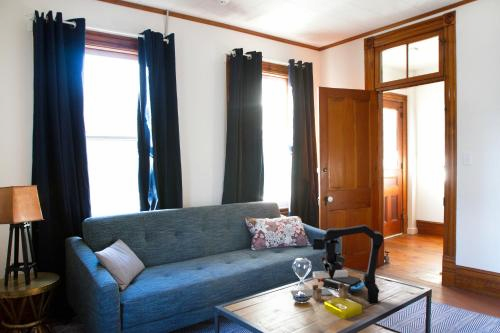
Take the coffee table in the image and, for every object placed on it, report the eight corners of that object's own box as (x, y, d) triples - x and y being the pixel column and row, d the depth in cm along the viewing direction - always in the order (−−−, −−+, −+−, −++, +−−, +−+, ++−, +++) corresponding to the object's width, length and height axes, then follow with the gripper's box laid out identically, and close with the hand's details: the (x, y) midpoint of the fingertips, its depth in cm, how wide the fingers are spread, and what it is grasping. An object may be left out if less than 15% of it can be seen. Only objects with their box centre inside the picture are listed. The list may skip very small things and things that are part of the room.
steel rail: (347, 276, 214) (347, 271, 214) (314, 278, 210) (314, 273, 210) (345, 274, 217) (345, 269, 217) (312, 276, 213) (312, 271, 213)
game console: (368, 280, 226) (356, 286, 216) (368, 290, 226) (356, 297, 216) (328, 269, 245) (315, 275, 235) (327, 279, 246) (315, 285, 235)
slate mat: (332, 295, 219) (332, 293, 219) (295, 298, 215) (295, 296, 215) (326, 289, 228) (326, 288, 228) (290, 292, 224) (290, 290, 224)
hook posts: (348, 299, 213) (348, 286, 212) (316, 302, 209) (316, 289, 209) (343, 295, 219) (343, 282, 219) (312, 297, 215) (312, 284, 215)
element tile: (363, 313, 196) (363, 304, 196) (343, 320, 188) (343, 311, 188) (342, 303, 209) (342, 295, 209) (322, 309, 201) (322, 300, 200)
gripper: (351, 254, 205) (350, 282, 206) (337, 245, 223) (336, 271, 224) (332, 255, 203) (331, 283, 204) (319, 246, 221) (319, 272, 222)
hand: (330, 277), depth 213 cm, fingers closed on steel rail, 3 cm apart
